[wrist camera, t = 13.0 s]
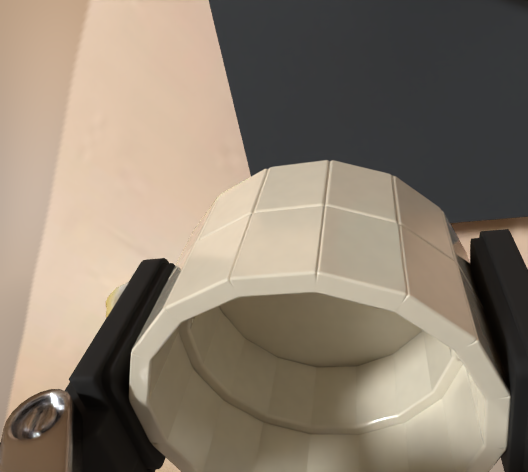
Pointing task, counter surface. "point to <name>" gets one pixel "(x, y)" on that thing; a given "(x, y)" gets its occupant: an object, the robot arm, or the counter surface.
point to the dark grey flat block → (387, 92)
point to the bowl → (321, 335)
